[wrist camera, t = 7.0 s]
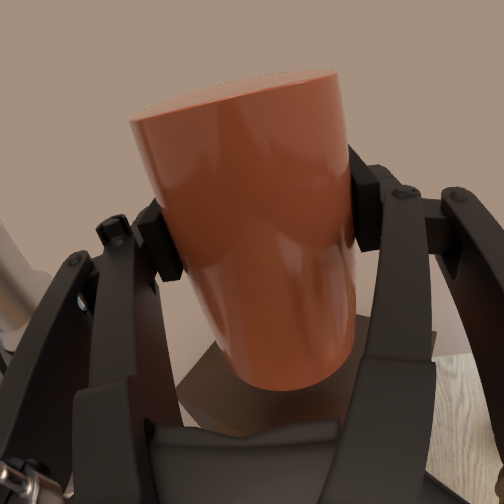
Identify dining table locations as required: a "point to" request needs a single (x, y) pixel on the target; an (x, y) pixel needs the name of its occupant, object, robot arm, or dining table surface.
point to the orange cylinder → (261, 219)
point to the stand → (266, 394)
